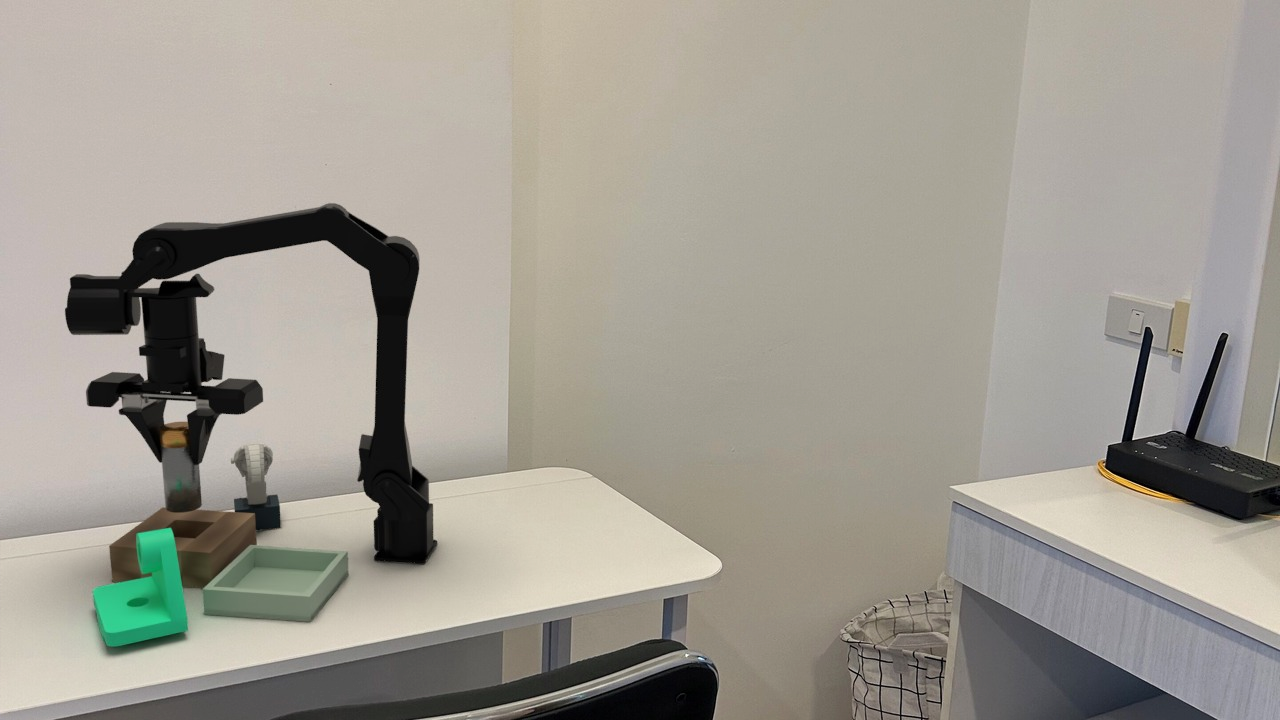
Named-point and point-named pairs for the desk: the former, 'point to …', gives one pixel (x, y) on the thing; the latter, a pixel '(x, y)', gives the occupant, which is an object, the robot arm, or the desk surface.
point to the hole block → (189, 544)
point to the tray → (276, 583)
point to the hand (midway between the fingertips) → (180, 462)
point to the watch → (257, 485)
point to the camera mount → (144, 595)
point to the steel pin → (179, 469)
